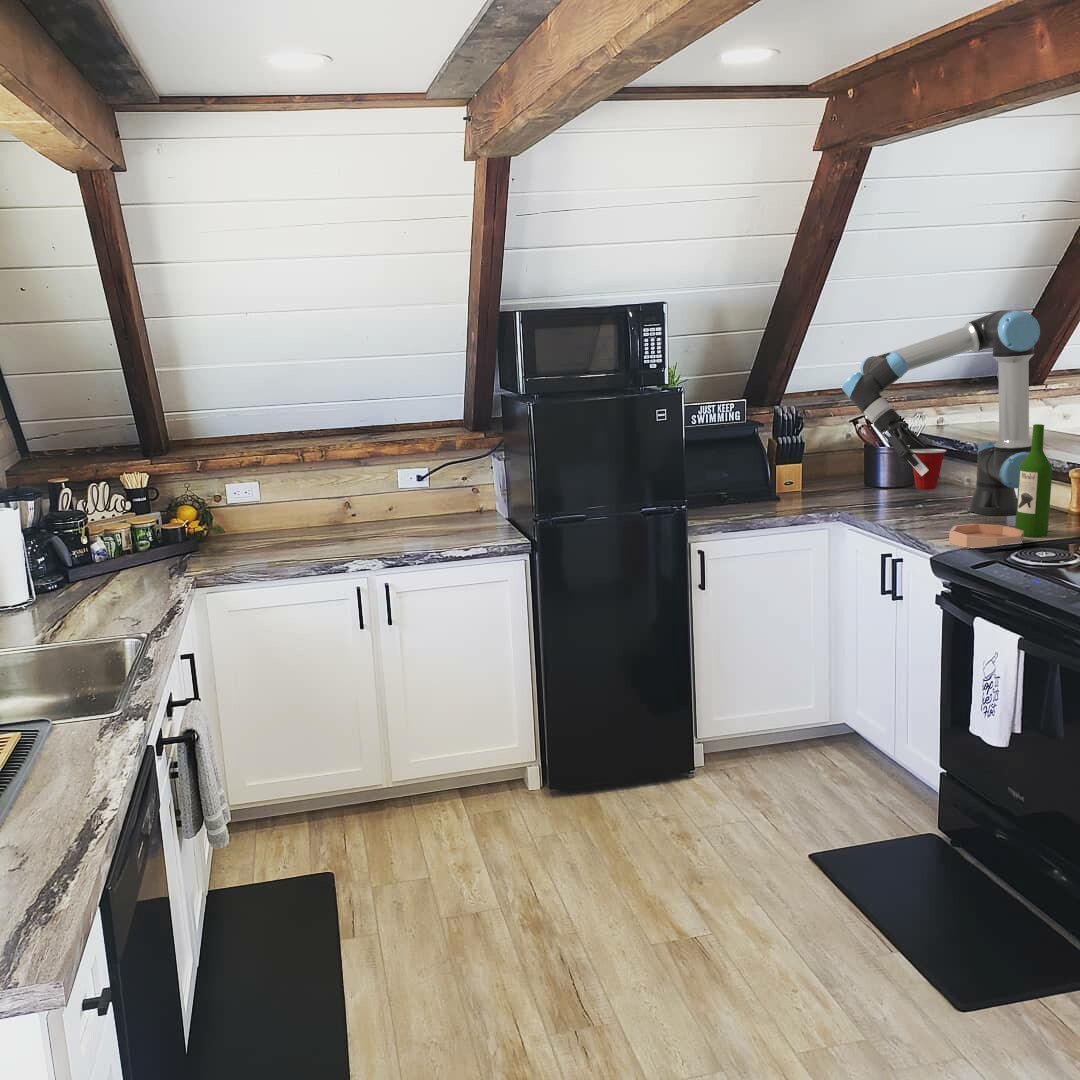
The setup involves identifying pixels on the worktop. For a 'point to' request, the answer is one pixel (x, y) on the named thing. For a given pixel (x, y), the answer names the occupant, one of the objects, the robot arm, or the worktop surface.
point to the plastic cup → (932, 462)
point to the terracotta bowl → (984, 535)
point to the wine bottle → (1034, 489)
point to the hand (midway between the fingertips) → (931, 470)
